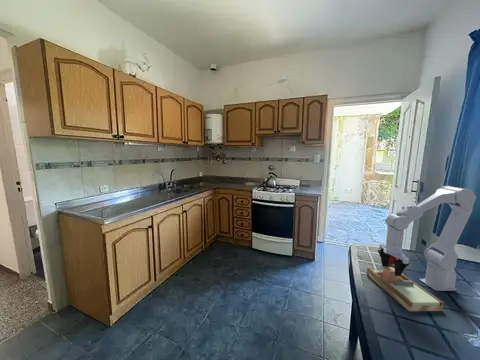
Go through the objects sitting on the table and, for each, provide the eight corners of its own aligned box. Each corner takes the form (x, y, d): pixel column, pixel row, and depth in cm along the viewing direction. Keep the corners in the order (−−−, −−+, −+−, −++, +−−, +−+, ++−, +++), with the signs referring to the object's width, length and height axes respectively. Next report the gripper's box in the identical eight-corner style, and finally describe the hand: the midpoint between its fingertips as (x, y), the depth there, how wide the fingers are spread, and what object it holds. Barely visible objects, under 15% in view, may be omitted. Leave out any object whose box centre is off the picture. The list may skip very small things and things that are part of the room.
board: (392, 273, 101) (393, 267, 101) (442, 310, 77) (444, 302, 77) (366, 273, 101) (367, 267, 100) (408, 311, 77) (410, 303, 76)
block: (390, 279, 97) (391, 267, 96) (397, 284, 93) (398, 271, 92) (381, 279, 97) (383, 267, 96) (388, 284, 93) (389, 271, 92)
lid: (413, 286, 88) (414, 280, 88) (439, 305, 77) (440, 298, 77) (389, 286, 88) (390, 280, 87) (412, 305, 77) (413, 298, 77)
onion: (398, 268, 106) (400, 253, 105) (385, 267, 107) (387, 252, 106) (392, 262, 112) (394, 248, 111) (380, 261, 113) (382, 247, 112)
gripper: (374, 235, 99) (371, 262, 101) (398, 249, 85) (395, 280, 87) (388, 235, 100) (385, 262, 101) (415, 249, 85) (411, 280, 87)
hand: (391, 270), depth 94 cm, fingers open, 7 cm apart
